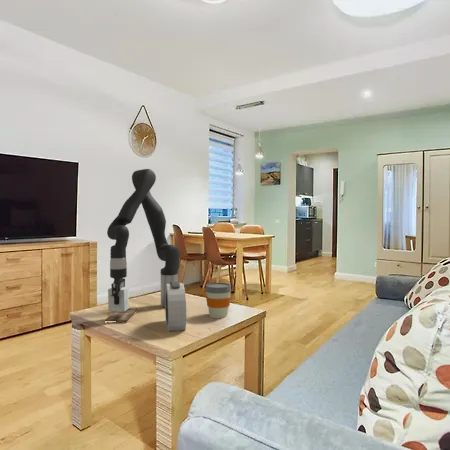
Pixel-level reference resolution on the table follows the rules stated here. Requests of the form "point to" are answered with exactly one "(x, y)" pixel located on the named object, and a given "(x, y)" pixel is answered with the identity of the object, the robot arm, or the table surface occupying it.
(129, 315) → the walnut board
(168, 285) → the alarm clock
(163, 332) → the table surface
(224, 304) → the reusable coffee cup
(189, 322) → the table surface
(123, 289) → the small box
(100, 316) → the table surface
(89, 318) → the table surface
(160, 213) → the robot arm
